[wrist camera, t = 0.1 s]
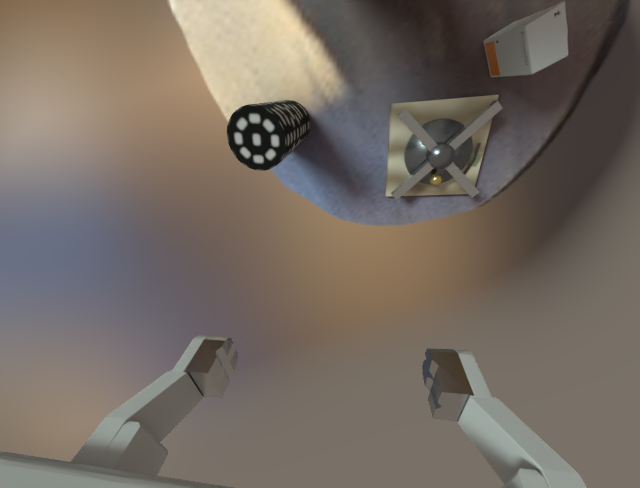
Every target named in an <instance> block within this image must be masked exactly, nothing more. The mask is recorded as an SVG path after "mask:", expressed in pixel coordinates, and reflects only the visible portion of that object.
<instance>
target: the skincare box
mask: <svg viewBox="0 0 640 488" xmlns="http://www.w3.org/2000/svg"><path fill="white" fill-rule="evenodd" d="M567 37H568V26H567V22H566V9H565V1H563V2H561V3H558V4H556V5H554V6H551V7H549V8H546V9H544V10H542V11H539V12H537V13H534V14H532V15H530V16H527V17H525V18H523V19H520V20H518V21H515V22H513V23H511V24H509V25H508V26H506V27H504V28H503V29H501V30H499V31H498V32H496V33H495V34H493V35H491V36H490V37H488V38H487V39H485V40H484V41H483V43H484V47H485V52H486V57H487V61H488V67H489V73H490V77H491V78H493V77H506V76H520V75H532V74H534V73H536V72H538V71H540V70H542V69H544V68H546V67H548V66H550V65H552V64H554V63H556V62H557V61H559V60H561V59H563V58H565V57H567V56H568V54H569V53H568V38H567Z"/></svg>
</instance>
